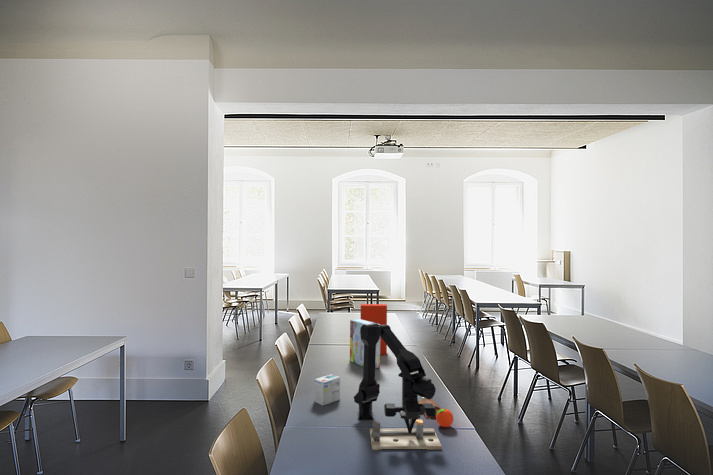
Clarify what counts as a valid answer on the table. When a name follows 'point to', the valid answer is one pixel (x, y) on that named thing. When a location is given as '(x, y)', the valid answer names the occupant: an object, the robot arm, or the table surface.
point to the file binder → (376, 319)
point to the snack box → (360, 344)
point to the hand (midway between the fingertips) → (409, 432)
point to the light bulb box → (327, 389)
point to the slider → (419, 429)
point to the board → (402, 438)
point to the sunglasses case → (429, 402)
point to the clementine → (444, 417)
